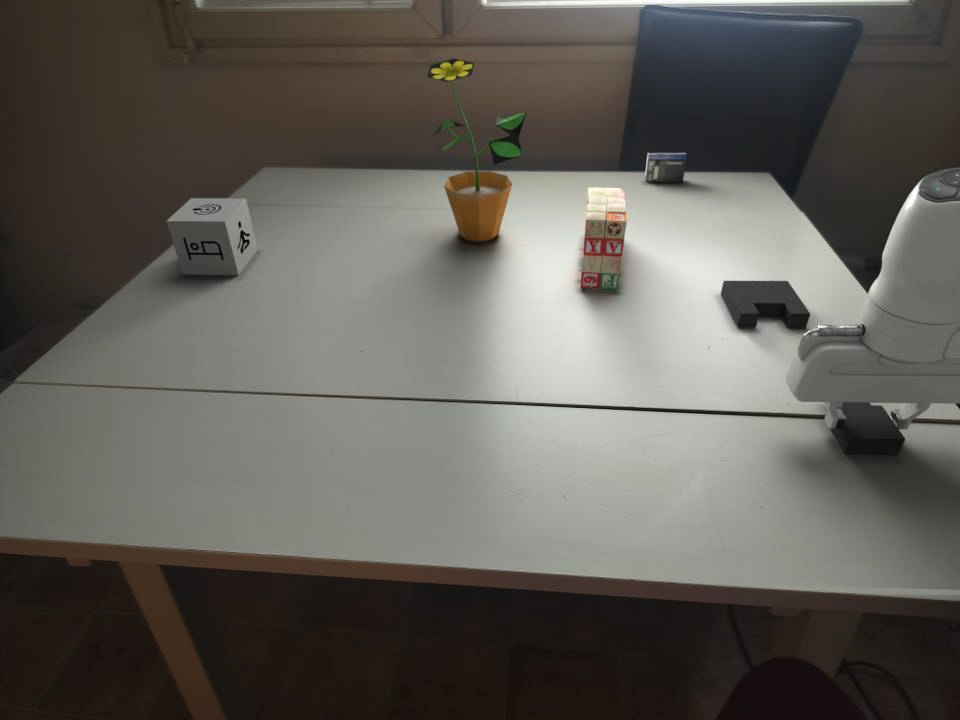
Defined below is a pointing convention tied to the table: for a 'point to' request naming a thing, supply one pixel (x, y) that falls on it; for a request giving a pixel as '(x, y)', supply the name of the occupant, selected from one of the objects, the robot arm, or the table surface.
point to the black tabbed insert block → (868, 430)
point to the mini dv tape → (665, 167)
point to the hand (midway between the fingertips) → (865, 425)
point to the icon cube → (213, 236)
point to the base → (764, 303)
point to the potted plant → (477, 192)
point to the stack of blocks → (603, 238)
